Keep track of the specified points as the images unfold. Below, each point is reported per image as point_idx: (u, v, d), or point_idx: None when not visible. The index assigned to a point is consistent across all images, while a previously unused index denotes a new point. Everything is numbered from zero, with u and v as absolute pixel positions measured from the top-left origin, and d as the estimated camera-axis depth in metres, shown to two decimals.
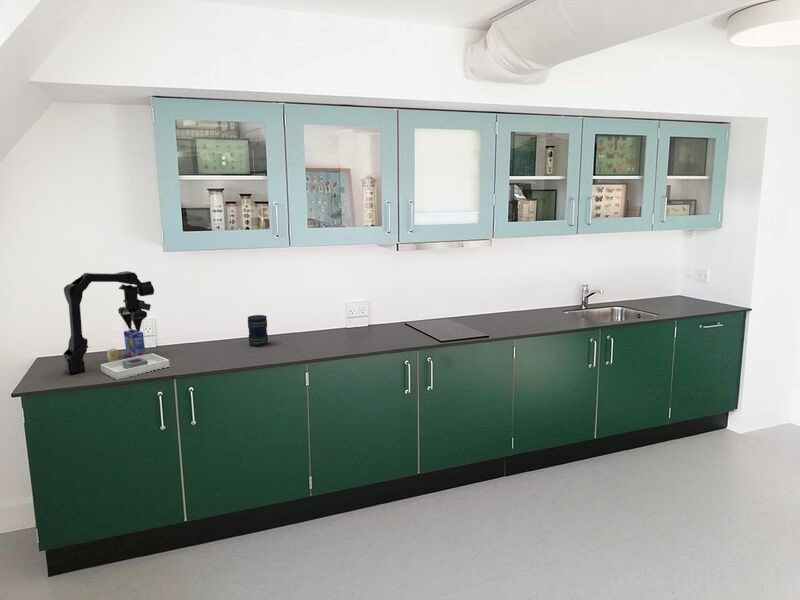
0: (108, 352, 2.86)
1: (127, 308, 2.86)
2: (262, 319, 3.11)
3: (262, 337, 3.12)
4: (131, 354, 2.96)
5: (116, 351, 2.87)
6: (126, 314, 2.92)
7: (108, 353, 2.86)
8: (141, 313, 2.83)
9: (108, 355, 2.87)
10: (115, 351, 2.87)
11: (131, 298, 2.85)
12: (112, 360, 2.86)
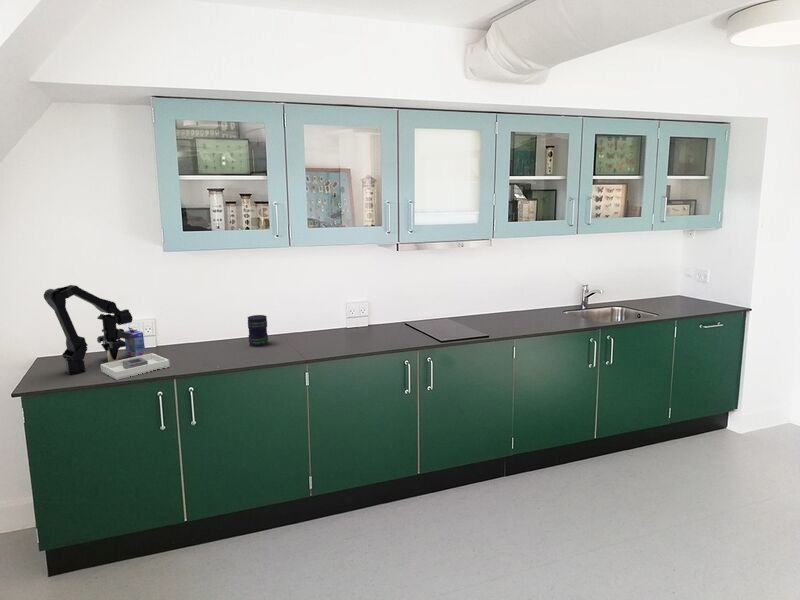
0: (108, 352, 2.86)
1: (106, 338, 2.83)
2: (262, 319, 3.11)
3: (262, 337, 3.12)
4: (131, 354, 2.96)
5: None
6: (107, 344, 2.88)
7: (108, 353, 2.86)
8: (119, 343, 2.80)
9: (108, 355, 2.87)
10: None
11: (109, 328, 2.82)
12: (112, 360, 2.86)
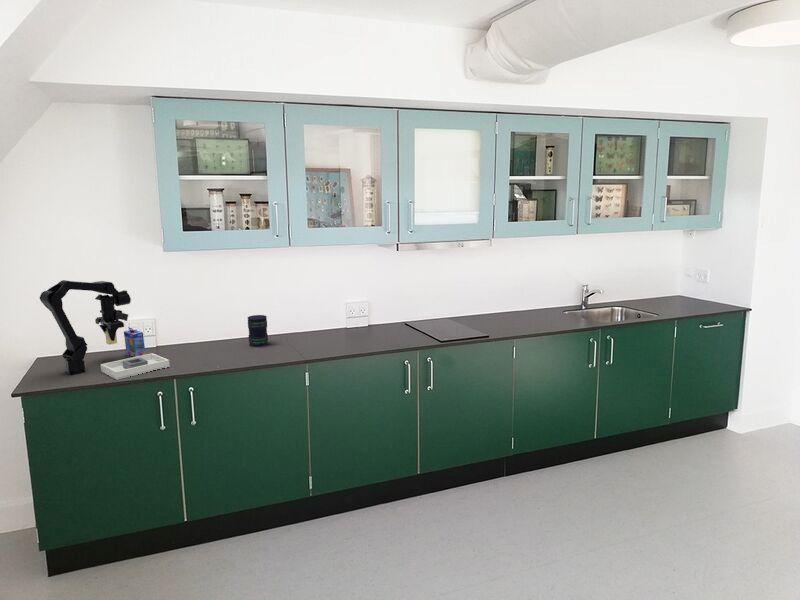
0: (106, 333, 2.84)
1: (104, 318, 2.82)
2: (262, 319, 3.11)
3: (262, 337, 3.12)
4: (131, 354, 2.96)
5: None
6: (105, 325, 2.86)
7: (106, 334, 2.84)
8: (117, 324, 2.78)
9: (106, 336, 2.85)
10: None
11: (108, 308, 2.81)
12: (110, 341, 2.84)
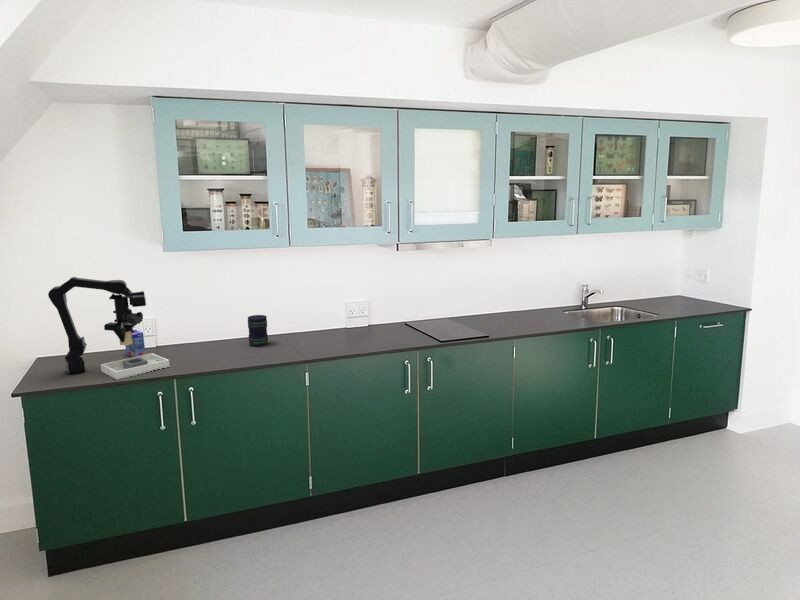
0: None
1: None
2: (262, 319, 3.11)
3: (262, 337, 3.12)
4: (131, 353, 2.96)
5: (124, 334, 2.76)
6: (126, 325, 2.80)
7: None
8: (109, 326, 2.68)
9: None
10: None
11: (116, 308, 2.73)
12: (121, 342, 2.77)
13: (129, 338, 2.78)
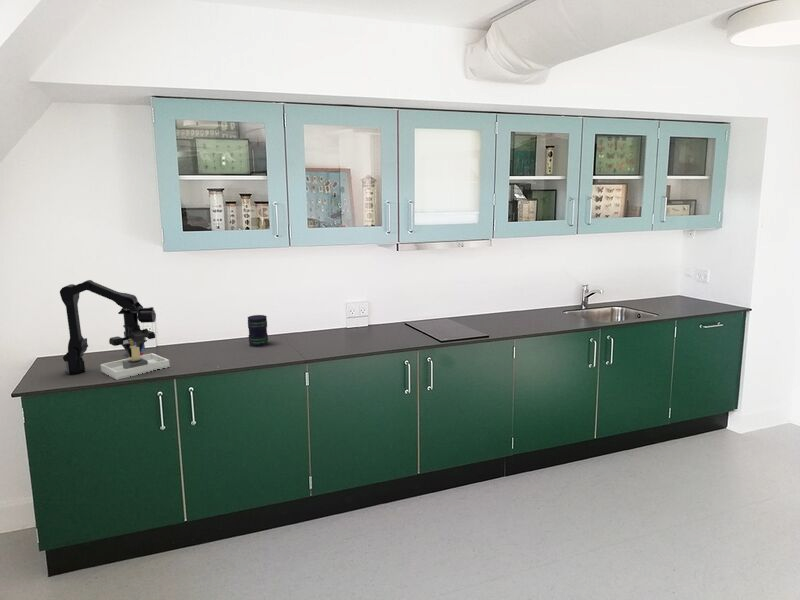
0: None
1: None
2: (262, 319, 3.11)
3: (262, 337, 3.12)
4: None
5: (130, 349, 2.72)
6: None
7: None
8: (111, 340, 2.66)
9: None
10: (130, 349, 2.72)
11: (124, 323, 2.71)
12: (129, 357, 2.74)
13: (136, 354, 2.74)
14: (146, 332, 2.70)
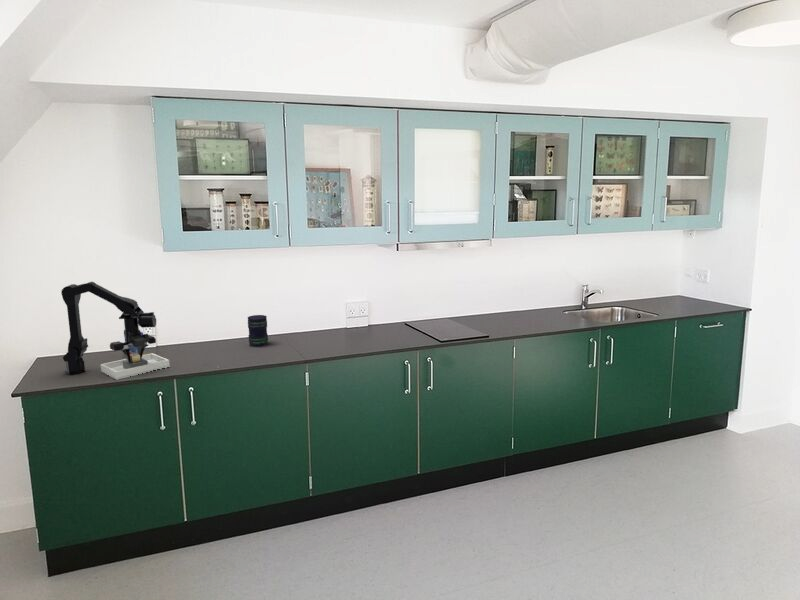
0: None
1: None
2: (262, 319, 3.11)
3: (262, 337, 3.12)
4: (131, 353, 2.96)
5: (131, 357, 2.73)
6: None
7: None
8: (112, 345, 2.67)
9: None
10: (131, 357, 2.73)
11: None
12: None
13: None
14: (147, 337, 2.71)
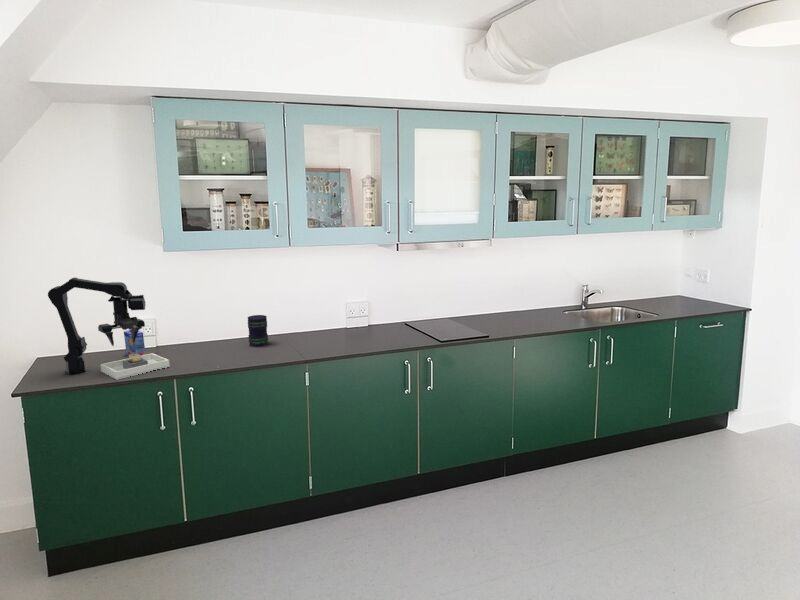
0: None
1: None
2: (262, 319, 3.11)
3: (262, 337, 3.12)
4: None
5: (131, 357, 2.73)
6: (133, 327, 2.79)
7: None
8: (100, 327, 2.68)
9: None
10: (131, 357, 2.73)
11: None
12: None
13: None
14: (135, 320, 2.71)
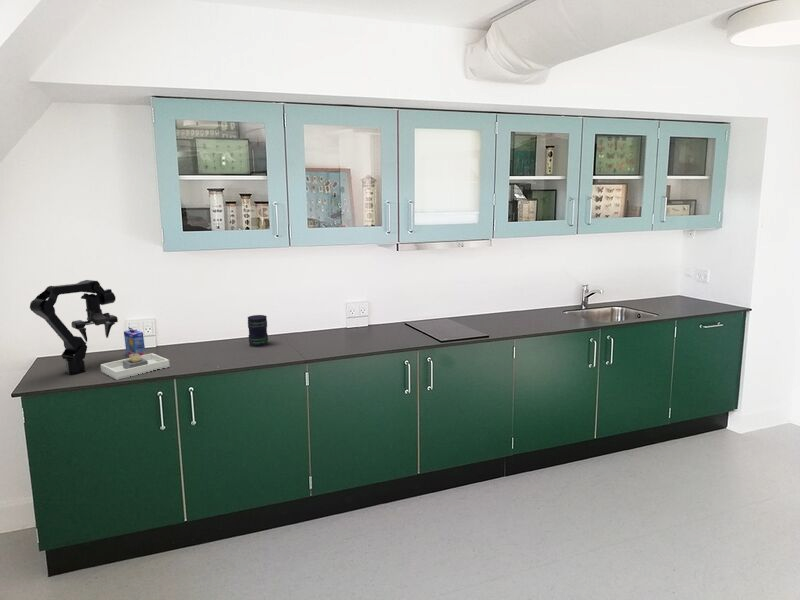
0: None
1: None
2: (262, 319, 3.11)
3: (262, 337, 3.12)
4: None
5: (131, 357, 2.73)
6: (106, 323, 2.85)
7: None
8: (73, 323, 2.74)
9: None
10: (131, 357, 2.73)
11: (86, 307, 2.78)
12: None
13: None
14: (107, 316, 2.77)
